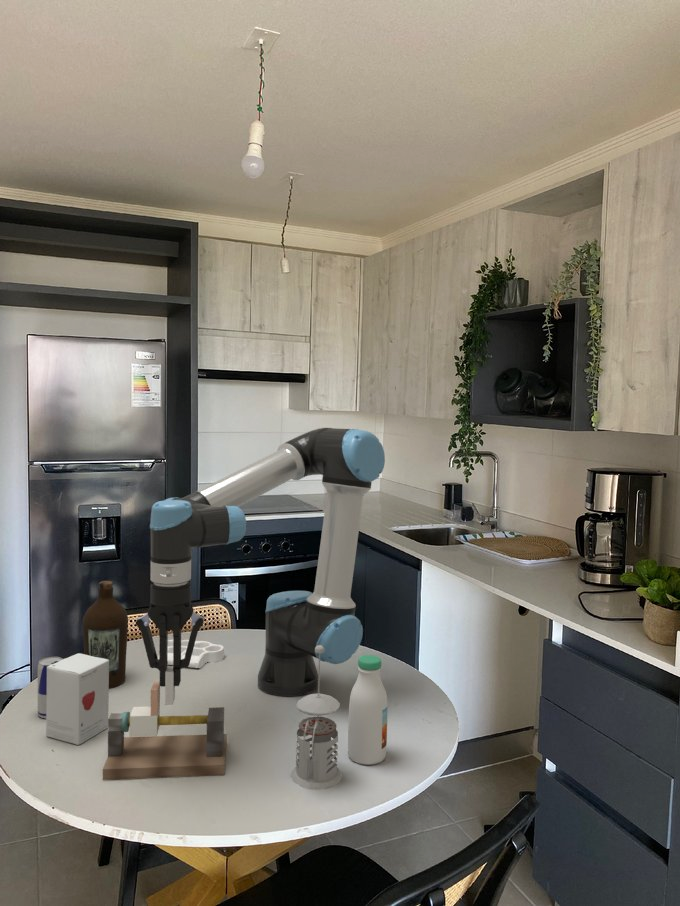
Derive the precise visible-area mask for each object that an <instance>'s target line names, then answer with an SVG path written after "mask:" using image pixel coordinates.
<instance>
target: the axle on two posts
mask: <svg viewBox="0 0 680 906" xmlns="http://www.w3.org/2000/svg"><path fill="white" fill-rule="evenodd" d="M130 715H131V712H130V711H123V713H122V712H119V713H116V712H115V713H112V712H111V713H110V714H109V716H108V728H107V729H108V730H107V731H108V732H107V758H106V760H105V762H104V765H103V767H102V781H104V780H105V781H106V780H129V779H130V780H131V779H134V780H135V779H152V778H153V779H154V778H155V779H156V778H157V779H158V778H177V777H178V778H180V777H182V778H183V777H203V776H204V777H206V776H224V775H225V769H226V768H225V767H226V757H227V756H226V753H227V743H228V742H227V737H228V736H227V735H228V734H227V733H225V732H224V731H225V729H224V728H225V707H224V706H223V707H221V706H219V707H208V711H207V714H202V715H201V714H200V715H198V714H197V715H196V714H195V715H173V716H172V715H166V716H164V715H163V716H161V715H160V716H159V717H158V724H157V725H160V726H180V725H181V726H182V725H183V726H184V725H206V734H187V735H186V734H185V735H184V734H183V735H182V734H181V735H157V736H141V737H130V736H125V733H129V732H130Z"/></svg>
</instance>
